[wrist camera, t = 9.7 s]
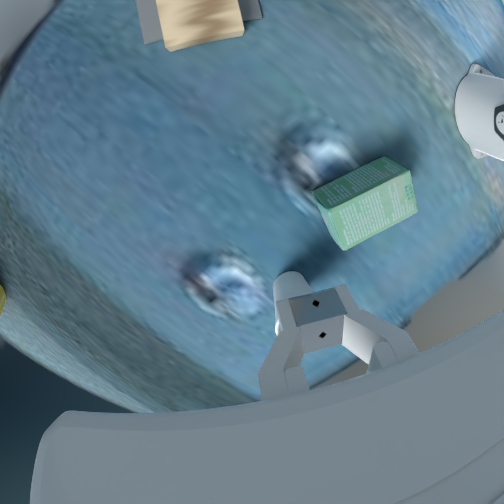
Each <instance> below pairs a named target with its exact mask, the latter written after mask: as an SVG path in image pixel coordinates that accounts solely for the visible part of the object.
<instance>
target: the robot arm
mask: <svg viewBox="0 0 504 504" xmlns="http://www.w3.org/2000/svg"><path fill="white" fill-rule="evenodd" d="M455 116H456V121H457V125H458V128H459V131H460V133H461V135H462V137H463V138H464V140H465V141H466V142H467V143H468V144H469V146H470V148H471V151H472V154H473V156H474V157H476V158H482V157H484V156H487V155H490V156H492V157H494V158H497V159H499V160H502V161H504V79H503V78H499V77H497V76H495V75H494V74H492V73H491V72H489V71H488V70H486V69H485V68H483V67H481V66H480V65H478V64H474V63H473V64H472V65H471V67H470V70H469V73H468V74H467V76H466V77H464V78H463V80H462V81H461V82H460V84H459V86H458V89H457V92H456V97H455ZM276 307H277V313H278V318H279V324H280V329H281V331H279V333H278V335H277V337H276V339H275V341H274V343H273V345H272V347H271V349H270V351H269V353H268V355H267V357H266V359H265V361H264V363H263V365H262V367H261V369H260V371H259V373H258V377H259V384H260V391H261V397H262V401H259V402H253V403H247V404H241V405H235V406H228V407H220V408H212V409H203V410H192V411H180V412H163V413H97V412H82V411H66V412H64V413H63V414H62V415H60V416H59V417H58V418H57V419H56V420H55V421H54V422H53V424H52V425H51V426H50V427H49V428H48V429H47V430H46V431H45V433H44V434H43V437H42V439H41V442H40V445H39V449H38V452H37V457H36V461H35V466H34V472H33V478H32V485H31V496H30V504H504V310H502V311H501V312H499V313H497V314H496V315H494V316H492V317H491V318H489V319H487V320H486V321H484V322H482V323H480V324H479V325H477V326H475V327H473V328H471V329H469V330H467V331H466V332H464V333H462V334H460V335H458V336H456V337H454V338H452V339H450V340H448V341H446V342H444V343H442V344H440V345H437V346H435V347H433V348H431V349H429V350H426V351H424V352H422V353H419V352H418V350H417V348H416V347H415V345H414V344H413V341H412V340H411V338H410V337H409V335H408V333H407V332H406V331H404V330H402V329H400V328H398V327H396V326H394V325H392V324H390V323H388V322H387V321H385V320H383V319H381V318H379V317H377V316H375V315H373V314H371V313H369V312H367V311H365V310H360V309H359V308H358V306H357V304H356V302H355V300H354V299H353V297H352V295H351V293H350V292H349V290H348V288H347V286H346V285H341V286H337V287H333V288H330V289H326V290H322V291H318V292H314V293H311V294H306V295H301V296H297V297H292V298H288V299H283V300H278V301H276ZM338 344H342V345H343V346H345V347H346V348H347V349H349V350H350V351H351V352H353V353H354V354H355V355H357V356H358V357H359V358H361V359H362V360H363V361H365V362H366V363H367V364H369V366H368V369H367V373H366V374H364V375H361V376H358V377H355V378H352V379H349V380H346V381H342V382H339V383H336V384H333V385H329V386H325V387H321V388H318V389H314V390H310V391H309V387H308V384H307V381H306V377H305V374H304V370H303V368H302V367H300V364H301V361H302V358H303V355H304V354H305V353H308V352H312V351H315V350H319V349H322V348H326V347H330V346H334V345H338Z"/></svg>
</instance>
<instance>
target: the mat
mask: <svg viewBox="0 0 504 504" xmlns="http://www.w3.org/2000/svg"><path fill="white" fill-rule="evenodd" d="M136 4H137V10H138V15H139V20H140V25H141V30H142V35H143V40H144V44H145V45H146V44H149V43H152V42H155V41H158V40H162V39H164V38H163V34H162V29H161V24H160V19H159V14H158V9H157V5H156V0H136ZM238 4H239V8H240V13H241V17H242V21H249V20H257V19H262V14H261V10H260V6H259V2H258V0H238Z"/></svg>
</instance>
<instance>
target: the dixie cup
mask: <svg viewBox="0 0 504 504" xmlns="http://www.w3.org/2000/svg"><path fill="white" fill-rule="evenodd" d="M273 291H274V304H275V316H276V325H275V332H276V334H277V335H278V333H279V331H281V329H280V324H279V318H278V313H277V307H276V301H278V300H283V299H288V298H292V297H297V296H301V295H306V294H311V293H313V291H312V290H311V288H310V286H309V285H308V283H307V282H306V280H305V279H304V277H303V276H302V275H301V274H300V273H298V272H295V271H289V272H285V273H282V274H281V275H279V276H278V277H277V278H276V279H275V281H274V283H273Z"/></svg>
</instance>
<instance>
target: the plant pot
mask: <svg viewBox="0 0 504 504" xmlns="http://www.w3.org/2000/svg"><path fill="white" fill-rule="evenodd" d="M5 301H6V293H5V291H4V289H3V288H2V286H1V285H0V314H1V312H2V309H3V306H4V303H5Z"/></svg>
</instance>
